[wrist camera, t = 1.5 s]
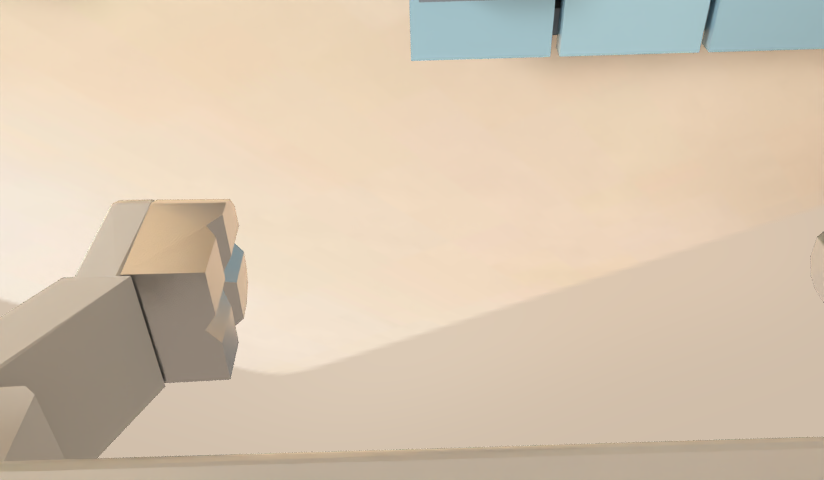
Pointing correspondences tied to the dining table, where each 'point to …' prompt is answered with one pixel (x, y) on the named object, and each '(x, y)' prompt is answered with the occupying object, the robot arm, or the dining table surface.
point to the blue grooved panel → (610, 27)
